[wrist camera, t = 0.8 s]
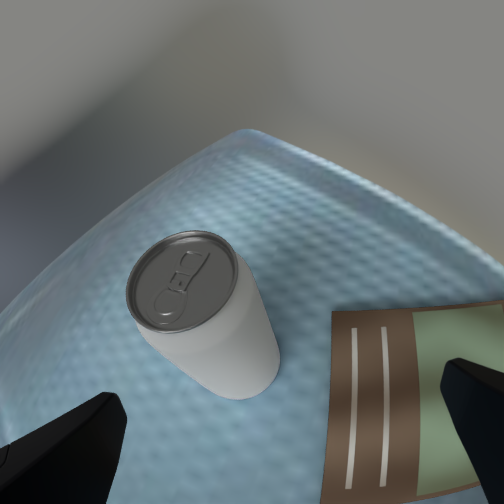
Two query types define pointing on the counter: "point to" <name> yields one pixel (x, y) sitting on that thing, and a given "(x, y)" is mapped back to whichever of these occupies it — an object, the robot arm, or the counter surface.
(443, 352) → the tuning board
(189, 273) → the can
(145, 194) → the counter surface
